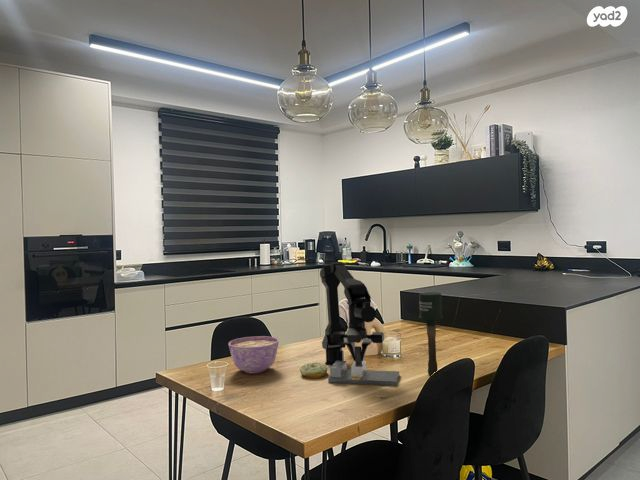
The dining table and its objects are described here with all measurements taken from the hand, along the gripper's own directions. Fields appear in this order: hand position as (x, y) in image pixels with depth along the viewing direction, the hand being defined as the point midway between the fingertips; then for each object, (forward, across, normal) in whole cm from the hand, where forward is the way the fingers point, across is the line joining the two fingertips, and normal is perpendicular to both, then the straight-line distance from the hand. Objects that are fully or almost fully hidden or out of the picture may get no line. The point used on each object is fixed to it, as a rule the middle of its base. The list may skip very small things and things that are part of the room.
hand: (358, 360), depth 172 cm
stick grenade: (+7, +26, +8) cm, 28 cm away
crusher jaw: (+5, 0, 0) cm, 5 cm away
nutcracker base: (+7, +2, 0) cm, 7 cm away
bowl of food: (+7, -43, +5) cm, 44 cm away
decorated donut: (+7, -18, +3) cm, 20 cm away
